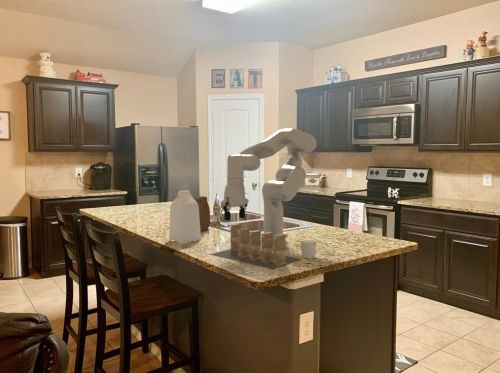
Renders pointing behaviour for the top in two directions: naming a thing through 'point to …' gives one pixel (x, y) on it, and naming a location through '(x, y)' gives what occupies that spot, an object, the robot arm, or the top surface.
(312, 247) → the shot glass
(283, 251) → the domino
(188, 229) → the milk
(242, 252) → the domino
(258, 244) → the domino
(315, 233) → the top surface
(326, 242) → the top surface
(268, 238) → the domino
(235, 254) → the mat
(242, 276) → the top surface
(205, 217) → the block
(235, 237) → the end domino
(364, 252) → the top surface
